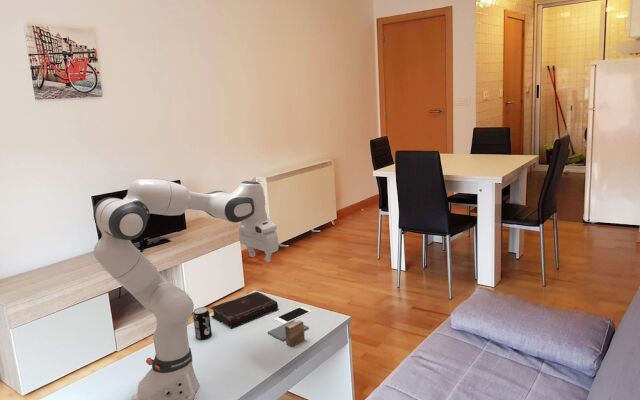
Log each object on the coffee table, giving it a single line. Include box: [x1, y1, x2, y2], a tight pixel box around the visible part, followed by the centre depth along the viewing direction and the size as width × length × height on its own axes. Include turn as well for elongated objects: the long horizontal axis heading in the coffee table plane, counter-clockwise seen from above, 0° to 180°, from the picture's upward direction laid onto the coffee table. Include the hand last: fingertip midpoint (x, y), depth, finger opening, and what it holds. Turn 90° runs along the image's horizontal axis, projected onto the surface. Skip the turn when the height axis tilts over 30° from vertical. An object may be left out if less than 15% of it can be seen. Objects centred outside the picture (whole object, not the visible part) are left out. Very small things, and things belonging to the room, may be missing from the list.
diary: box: [209, 291, 279, 330], centre depth 233 cm, size 19×25×5 cm
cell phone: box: [273, 305, 313, 325], centre depth 228 cm, size 8×16×1 cm, turn 132°
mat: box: [267, 319, 310, 342], centre depth 214 cm, size 14×10×1 cm
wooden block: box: [285, 319, 306, 348], centre depth 203 cm, size 3×7×8 cm, turn 133°
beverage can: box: [192, 306, 213, 341], centre depth 213 cm, size 7×7×12 cm
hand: (260, 258), depth 192 cm, fingers open, 8 cm apart
